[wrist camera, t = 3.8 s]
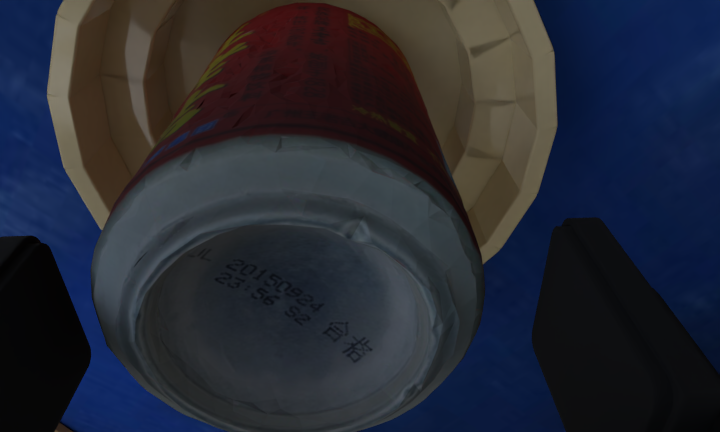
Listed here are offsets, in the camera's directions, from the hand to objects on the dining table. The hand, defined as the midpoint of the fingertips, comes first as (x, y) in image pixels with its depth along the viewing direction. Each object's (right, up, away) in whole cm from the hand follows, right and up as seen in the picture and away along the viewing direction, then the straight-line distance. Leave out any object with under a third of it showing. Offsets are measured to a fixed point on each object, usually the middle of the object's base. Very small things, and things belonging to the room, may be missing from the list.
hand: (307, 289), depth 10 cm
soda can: (-1, +6, +9) cm, 11 cm away
